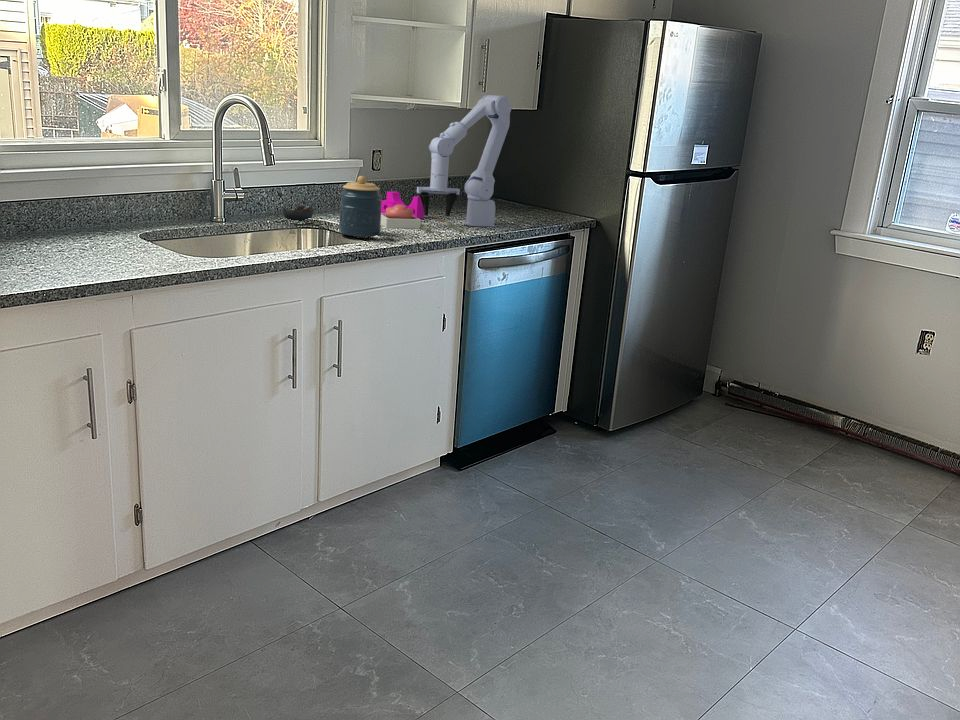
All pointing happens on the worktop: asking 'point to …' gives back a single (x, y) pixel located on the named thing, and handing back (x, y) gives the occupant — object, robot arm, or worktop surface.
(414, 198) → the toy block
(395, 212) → the dome
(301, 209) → the soup bowl
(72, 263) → the worktop surface
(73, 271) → the worktop surface
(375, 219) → the canister
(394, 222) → the white square frame
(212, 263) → the worktop surface
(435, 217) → the game lane
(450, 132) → the robot arm
